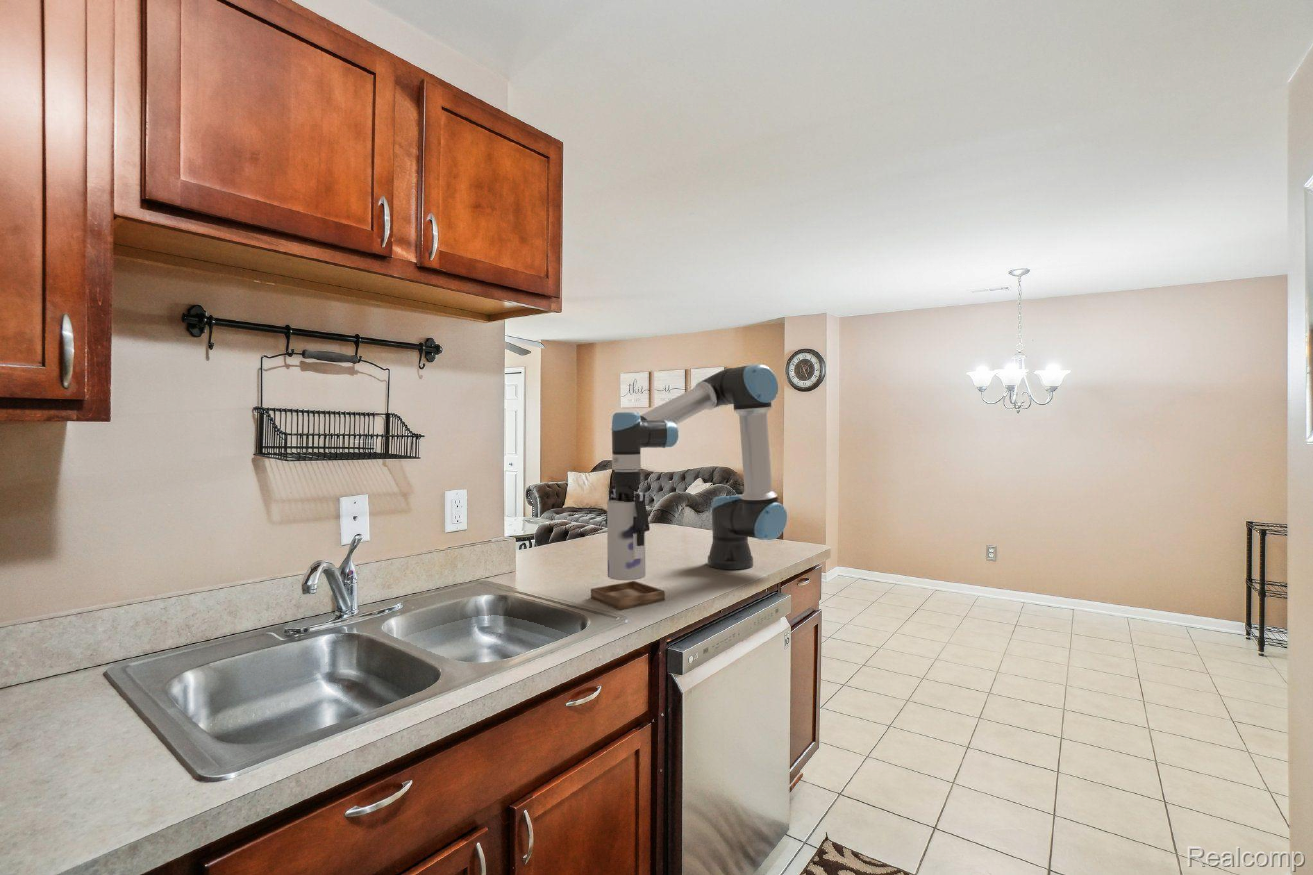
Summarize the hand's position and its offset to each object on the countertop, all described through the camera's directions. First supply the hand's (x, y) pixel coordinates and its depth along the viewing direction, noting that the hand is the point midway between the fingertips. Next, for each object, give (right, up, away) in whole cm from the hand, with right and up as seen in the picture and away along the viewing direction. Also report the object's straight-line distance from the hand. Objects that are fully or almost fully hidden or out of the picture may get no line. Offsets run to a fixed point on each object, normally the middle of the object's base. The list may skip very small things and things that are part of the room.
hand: (626, 554), depth 157 cm
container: (0, -6, 0) cm, 6 cm away
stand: (0, -12, 0) cm, 12 cm away
